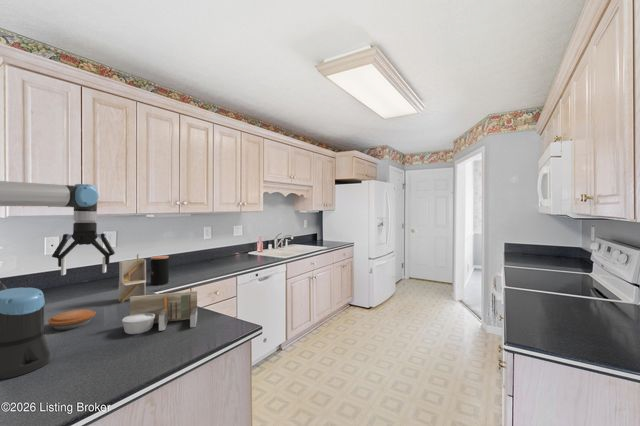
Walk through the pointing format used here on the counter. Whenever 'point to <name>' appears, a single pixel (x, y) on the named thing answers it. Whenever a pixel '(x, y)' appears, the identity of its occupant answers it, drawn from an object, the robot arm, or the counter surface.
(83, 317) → the pie
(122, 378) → the counter surface
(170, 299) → the scale board
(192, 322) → the white striped block
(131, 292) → the staircase
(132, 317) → the ramekin
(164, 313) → the gauge sled
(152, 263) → the coffee jar
